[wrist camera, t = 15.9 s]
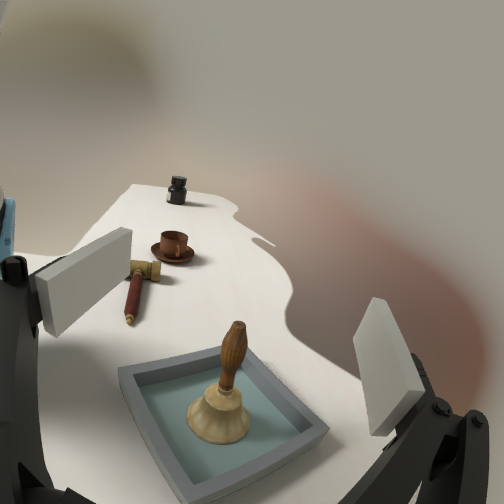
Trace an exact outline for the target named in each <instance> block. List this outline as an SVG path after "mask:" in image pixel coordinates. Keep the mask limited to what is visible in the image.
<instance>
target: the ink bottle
mask: <svg viewBox="0 0 504 504" xmlns="http://www.w3.org/2000/svg"><path fill="white" fill-rule="evenodd" d="M186 180H187V178H185V177H180V176H172V181H171V182H172V183H171V184H172V185H171V186H170V187H169V188H168V193H167V202H169V203H172V204H178V205H180V204H184V203H185V199H186V193H187V190H186V188H185V187H184V186H185V185H186Z"/></svg>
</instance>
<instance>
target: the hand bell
mask: <svg viewBox="0 0 504 504" xmlns="http://www.w3.org/2000/svg"><path fill="white" fill-rule="evenodd" d="M247 346H248V341H247V334H246V325H245V323H244V322H242V321H234V322H233V324H232V326H231V328H230V330H229V331H228V332H227V334H226V336H225V337H224V339H223V342H222V346H221V364H222V373H221V376H220V380H219V382H218V383H214V384H212V385H210V386H209V387H208V388H207V389H206V391H205V394H204V396H202V397H199V398H198V399H196V400H195V401H193V402H192V403H191V404H190V406H189V408H188V410H187V414H186V419H187V423H188V426H189V428H190V429H191V431H192V432H193V433H194V434H195V435H196V436H198V437H199V438H201V439H202V440H204V441H206V442H209V443H213V444H230V443H234V442H237V441H238V440H240V439H242V438H243V437H244V436H245V435H246V434H247V432H248V430H249V427H250V417H249V414H248V412H247V410H246V409H245V407H244V406H243V405H242V394H241V392H240V391H239V389H238V388H236V387H235V386H234V380H235V375H236V372H237V370H238V368H239V367H240V366H241V364H242V362H243V361H244V358H245V355H246V352H247Z"/></svg>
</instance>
